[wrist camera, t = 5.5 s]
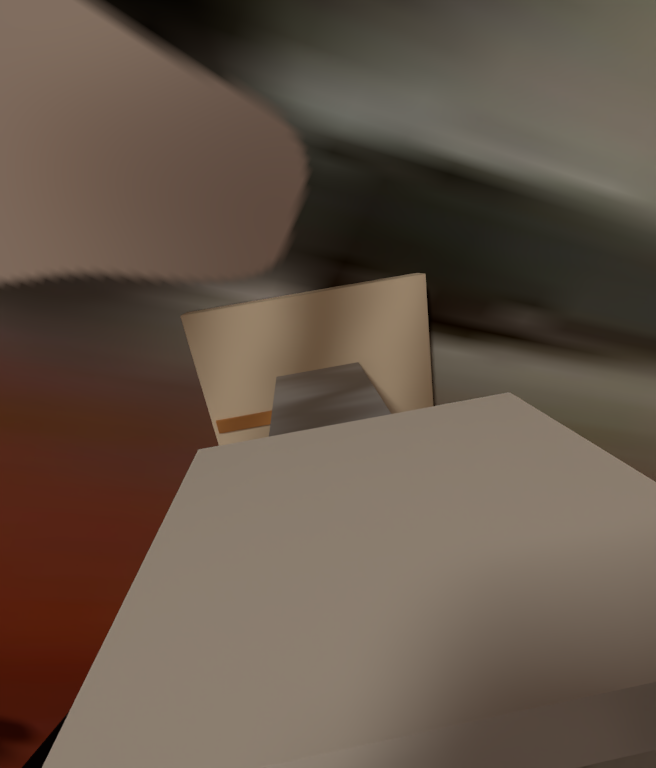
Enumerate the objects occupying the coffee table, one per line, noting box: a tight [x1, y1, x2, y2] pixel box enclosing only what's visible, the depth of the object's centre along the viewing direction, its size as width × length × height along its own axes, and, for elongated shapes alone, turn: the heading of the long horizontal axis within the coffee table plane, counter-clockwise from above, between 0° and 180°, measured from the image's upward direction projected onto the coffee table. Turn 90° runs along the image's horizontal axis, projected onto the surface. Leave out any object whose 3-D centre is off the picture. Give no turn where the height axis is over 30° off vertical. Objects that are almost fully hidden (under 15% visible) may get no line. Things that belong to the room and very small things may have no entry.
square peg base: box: [181, 273, 433, 446], centre depth 14 cm, size 10×10×7 cm
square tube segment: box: [42, 392, 656, 768], centre depth 6 cm, size 7×6×5 cm
